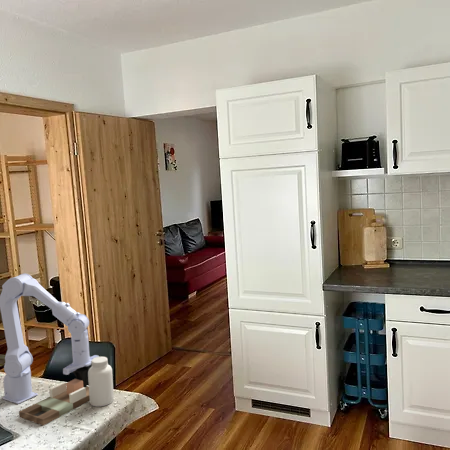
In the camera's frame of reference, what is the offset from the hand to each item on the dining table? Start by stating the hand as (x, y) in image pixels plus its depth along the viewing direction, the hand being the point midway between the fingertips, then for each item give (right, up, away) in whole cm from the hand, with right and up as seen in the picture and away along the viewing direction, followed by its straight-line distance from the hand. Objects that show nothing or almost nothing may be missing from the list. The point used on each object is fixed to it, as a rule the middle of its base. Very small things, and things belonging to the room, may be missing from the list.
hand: (83, 387), depth 159 cm
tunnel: (-3, -1, -6) cm, 7 cm away
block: (-2, -1, -3) cm, 4 cm away
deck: (-5, -4, -8) cm, 10 cm away
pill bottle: (+9, -3, -6) cm, 11 cm away
